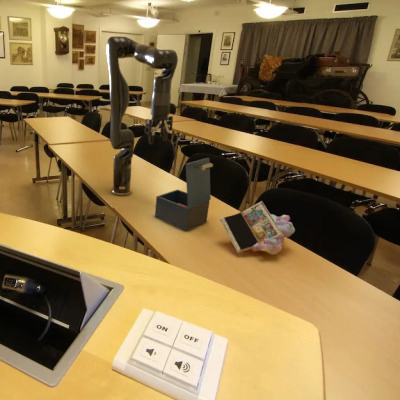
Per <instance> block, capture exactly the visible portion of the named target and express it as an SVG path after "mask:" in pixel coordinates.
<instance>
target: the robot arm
mask: <svg viewBox="0 0 400 400" xmlns="http://www.w3.org/2000/svg"><path fill="white" fill-rule="evenodd" d="M105 49H106V59H107V60H106V61H107V67H108V76H109V77H108V78H109V80H108V81H109V104H110V135H109V136H110V137H109V139H110V140H109V141H110V146H111V148H112V149H113V150H115V151H116V150H117V151H118V150H120V151H119V152H117V153H115V155H113V161H112V162H113V163H112V164H113V166H112V167H113V169H112V170H113V173H112V194H113V195H117V196H128V195H130V194H131V183H132V161H133V157H134V149H135V134H134V132H133V131H132V130H131V129H122V121H123V118H124V115H125V113H126V111H127V109H128V108H129V104H130V86H129V85H128V82H127V80H126V79H125V76H124V75H123V73H122V71H121V69H120V68H121V67H120V61H119V60H120V59H129V58H133V59H135V60H136V61H137V63H141V64H144V65H146V66H149V67H150V68H151V69H154V70H162V71H161V74H159V75H157V76H155V77H154V78H153V85H152V94H151V104H150V115H151V119H150V118H146V119H145V123H144V124H145V126H144V134H146V135H148V136H147V137H148V139H147V142H148V144H149V145H154V142H155V133H156V132H157V131H158V130H159V129H161V130H162V138H161V140H162V141H163V142H167V141H168V140H169V133H170V131H173V123H174V122H173V121H174V116H172V115H171V116H170V110H171V102H172V101H171V98H172V94H171V92H172V81H173V78H174V75H175V72H176V69H177V66H178V62H179V57H178V54H177V53H178V52H176V50H174V49H158V48H157V47H155V46H153V45H149V44H148V45H147V44H142V43H139V42H138V41H134V40H133V39H132V38H130V37H127V36H119V35H117V36H115V35H114V36H110V37H108V39H107V40H106V46H105Z"/></svg>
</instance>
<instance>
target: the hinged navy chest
mask: <svg viewBox="0 0 400 400" xmlns="http://www.w3.org/2000/svg"><path fill="white" fill-rule="evenodd" d="M210 201H211V200H209V201H206V202H204V203H201V204H198V205H196V206H193V207H191V208H187V207H185V206H188V203H187V191H183V190H181V189H174V190H171V191H169V192H165V193H163V194H159V195H157V196H156V199H155V212H154V217H155V218H157V219H159V220H161V221H163V222H165V223H167V224H170V225H171V226H174V227H176V228H178V229H181V230H183V231H185V232H186V231H189V230H191V229H193V228H196V227H198V226H201V225H203V224H205V223H207V221H208V214H209V208H210ZM178 203H180V204H183V205H185V206H182V205H180V204H178Z"/></svg>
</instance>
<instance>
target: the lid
mask: <svg viewBox="0 0 400 400" xmlns="http://www.w3.org/2000/svg"><path fill="white" fill-rule="evenodd" d="M213 167H214V164H213V163H212V162H210V157H205V158H201V159H197V160H195V161H191V162H188V163H185V179H186V180H185V181H186V193H187V203H188V208H191V207H193V206H196V205H198V204H201V203H204V202H206V201H211V169H212V168H213Z"/></svg>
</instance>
